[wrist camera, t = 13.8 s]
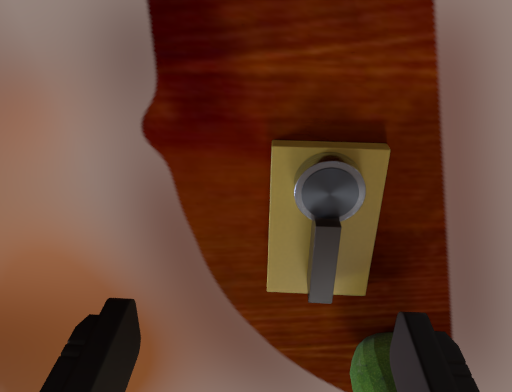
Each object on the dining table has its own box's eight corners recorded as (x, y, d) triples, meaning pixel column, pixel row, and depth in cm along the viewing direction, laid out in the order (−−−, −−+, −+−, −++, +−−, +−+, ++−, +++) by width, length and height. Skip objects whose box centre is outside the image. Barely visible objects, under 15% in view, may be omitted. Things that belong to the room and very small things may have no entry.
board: (272, 139, 38) (271, 146, 37) (387, 143, 38) (390, 149, 36) (267, 282, 46) (266, 291, 44) (362, 286, 45) (365, 296, 44)
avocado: (330, 340, 49) (344, 444, 39) (386, 305, 46) (417, 406, 36) (374, 376, 52) (398, 482, 41) (430, 344, 49) (471, 449, 38)
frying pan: (295, 150, 37) (296, 166, 34) (366, 152, 37) (373, 168, 34) (287, 279, 44) (288, 301, 41) (347, 282, 43) (352, 304, 41)
